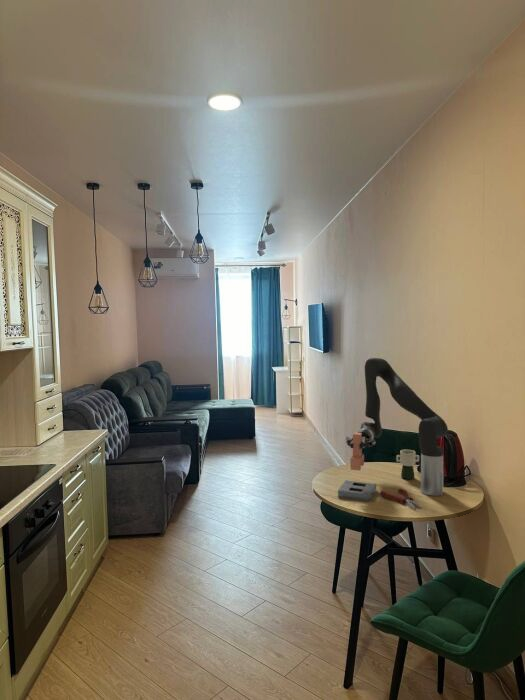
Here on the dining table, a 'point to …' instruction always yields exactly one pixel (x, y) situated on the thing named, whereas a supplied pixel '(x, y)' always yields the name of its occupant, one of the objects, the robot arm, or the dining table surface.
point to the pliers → (406, 500)
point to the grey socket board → (357, 490)
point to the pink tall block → (357, 453)
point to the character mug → (407, 462)
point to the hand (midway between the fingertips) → (355, 446)
